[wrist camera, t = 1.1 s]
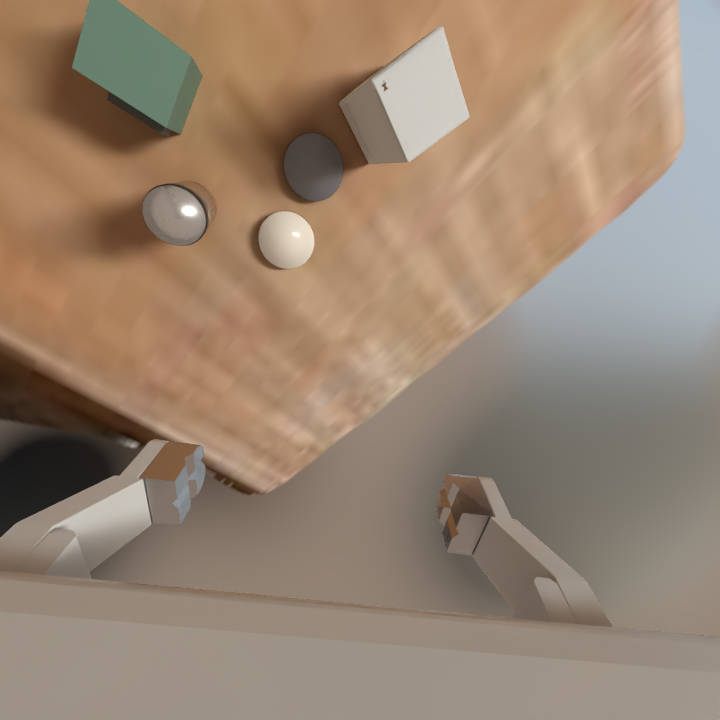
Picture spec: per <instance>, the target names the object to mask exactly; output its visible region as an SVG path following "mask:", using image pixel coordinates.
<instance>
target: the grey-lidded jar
mask: <svg viewBox="0 0 720 720" xmlns="http://www.w3.org/2000/svg"><path fill="white" fill-rule="evenodd" d="M142 210H143V217H144V220H145V222H146V224H147V226H148V228H149V229H150V230H151V232H152V233H153V234H154V235H155V236H156V237H158V238H159V239H160V240H162V241H164V242H166V243H168V244H171V245H176V246H186V245H191V244H193V243H195V242H197V241H198V240H199V239H200V238H201V237H202V236H203V235H204V233H205V232H206V230H207V228H208V226H209V225H210V224H211V222H212V221H213V220H214V218H215V215H216V203H215V200H214V198H213V196H212V194H211V193H210V192H209V191H208V190H207V189H206V188H205V187H204V186H202V185H200V184H198V183H196V182H191V181H185V182H180V183H175V184H174V183H170V184H163V185H159V186H156V187H154V188H153V189H152V190H150V191H149V192H148V194H147V195H146V197H145V199H144V202H143V208H142Z"/></svg>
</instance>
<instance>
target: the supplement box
mask: <svg viewBox="0 0 720 720" xmlns="http://www.w3.org/2000/svg"><path fill="white" fill-rule="evenodd" d="M339 105H340V107H341V109H342V111H343V113H344V115H345V117H346V119H347V121H348V123H349V125H350V128H351V129H352V131H353V133H354V135H355V137H356V139H357V141H358V143H359V145H360V147H361V149H362V151H363V153H364V155H365V157H366V159H367V161H368V163H369V164H381V163H402V162H410V161H411V160H413V159H414V158H416V157H417V156H419V155H420V154H421V153H423V152H424V151H425V150H427V149H428V148H429V147H431V146H432V145H433V144H435V143H436V142H437V141H439V140H440V139H441V138H443V137H444V136H446V135H447V134H448V133H450V132H451V131H452V130H454V129H455V128H456V127H458V126H459V125H460V124H461V123H463V122H464V121H465V120H467V119H468V118H469V113H468V110H467V106H466V103H465V100H464V97H463V93H462V90H461V87H460V84H459V80H458V77H457V74H456V71H455V67H454V64H453V60H452V57H451V53H450V49H449V46H448V43H447V39H446V36H445V32H444V28H443V27H442V26H440V27H438V28H437V29H435V30H434V31H432V32H431V33H429V34H428V35H426V36H425V37H424V38H422V39H421V40H419V41H418V42H417V43H415V44H414V45H413V46H411V47H410V48H408V49H407V50H406V51H404V52H403V53H402V54H400V55H399V56H397V57H396V58H395V59H393V60H392V61H391V62H389V63H388V64H387V65H385V66H384V67H383V68H381V69H380V70H379V71H377V72H376V73H375V74H373V75H372V76H371V77H369V78H368V79H367V80H365V81H364V82H363V83H362V84H360V85H359V86H358V87H357V88H355V89H354V90H353V91H352V92H351V93H349V94H348V95H347V96H346V97H345V98H344V99H342V100H341V101H340V102H339Z"/></svg>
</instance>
